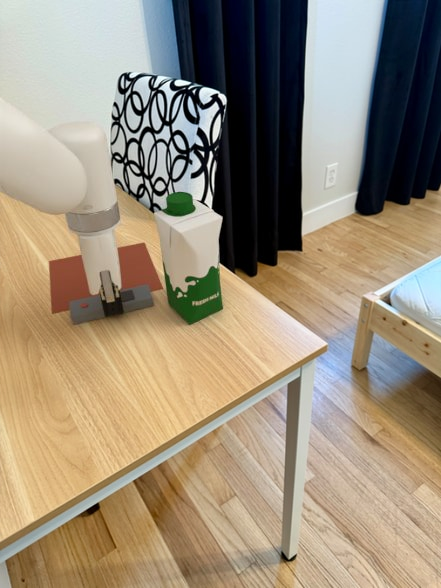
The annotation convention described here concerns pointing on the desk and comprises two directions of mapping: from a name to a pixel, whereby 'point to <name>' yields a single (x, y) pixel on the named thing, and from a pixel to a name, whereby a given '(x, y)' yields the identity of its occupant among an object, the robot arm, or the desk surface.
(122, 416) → the desk surface
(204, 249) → the milk carton
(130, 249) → the mat
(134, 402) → the desk surface
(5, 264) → the desk surface
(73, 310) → the remote
